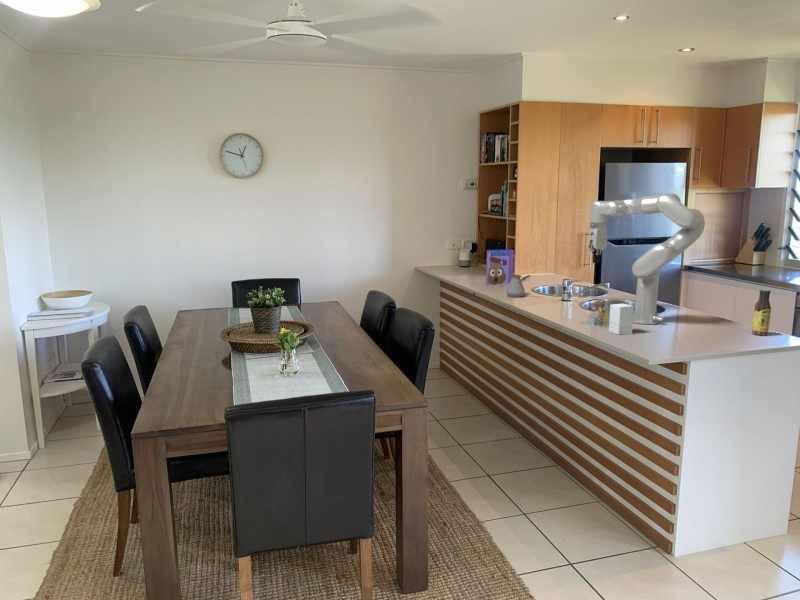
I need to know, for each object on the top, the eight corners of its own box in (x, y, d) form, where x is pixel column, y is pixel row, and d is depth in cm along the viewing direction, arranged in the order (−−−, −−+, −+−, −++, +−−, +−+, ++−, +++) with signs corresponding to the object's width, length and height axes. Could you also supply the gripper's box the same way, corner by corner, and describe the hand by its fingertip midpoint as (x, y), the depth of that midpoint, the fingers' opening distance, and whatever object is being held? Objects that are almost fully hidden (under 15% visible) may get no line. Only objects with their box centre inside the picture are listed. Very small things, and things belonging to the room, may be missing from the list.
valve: (623, 321, 291) (624, 306, 290) (601, 327, 279) (602, 311, 278) (601, 318, 300) (601, 303, 299) (579, 323, 288) (579, 308, 287)
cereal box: (488, 285, 404) (489, 250, 400) (486, 284, 408) (486, 249, 404) (512, 284, 408) (513, 249, 404) (509, 283, 412) (510, 248, 408)
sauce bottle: (761, 336, 261) (766, 291, 257) (748, 333, 266) (752, 289, 263) (771, 335, 263) (776, 290, 260) (758, 332, 269) (762, 288, 265)
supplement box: (632, 333, 267) (634, 306, 265) (618, 335, 265) (620, 307, 263) (622, 330, 274) (623, 303, 272) (608, 331, 272) (609, 304, 270)
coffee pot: (502, 295, 366) (502, 271, 364) (518, 294, 370) (519, 270, 368) (521, 301, 347) (521, 275, 344) (538, 300, 351) (539, 274, 348)
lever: (600, 306, 290) (600, 300, 290) (606, 306, 288) (606, 300, 288) (588, 310, 281) (588, 303, 280) (594, 310, 279) (595, 304, 278)
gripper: (596, 227, 291) (594, 264, 294) (613, 225, 300) (610, 262, 303) (582, 226, 296) (581, 263, 300) (599, 225, 306) (597, 261, 309)
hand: (596, 262), depth 302 cm, fingers closed
